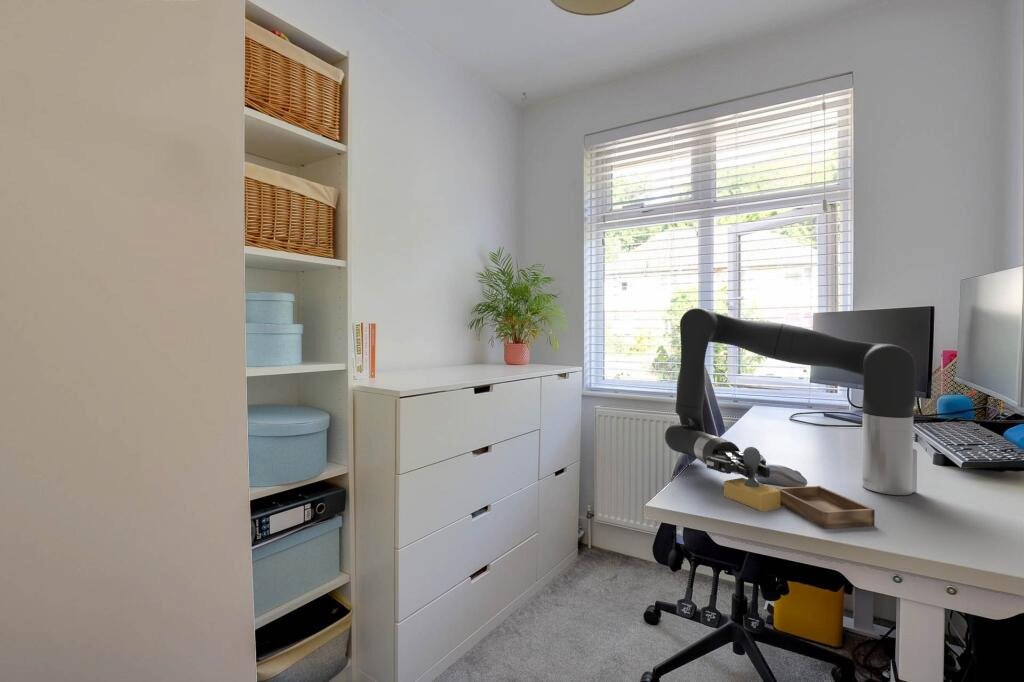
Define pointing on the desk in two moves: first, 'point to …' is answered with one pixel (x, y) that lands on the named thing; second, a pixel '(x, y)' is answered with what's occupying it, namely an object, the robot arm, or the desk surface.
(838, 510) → the tray
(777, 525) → the desk surface
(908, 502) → the desk surface
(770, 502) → the rubber stamp
